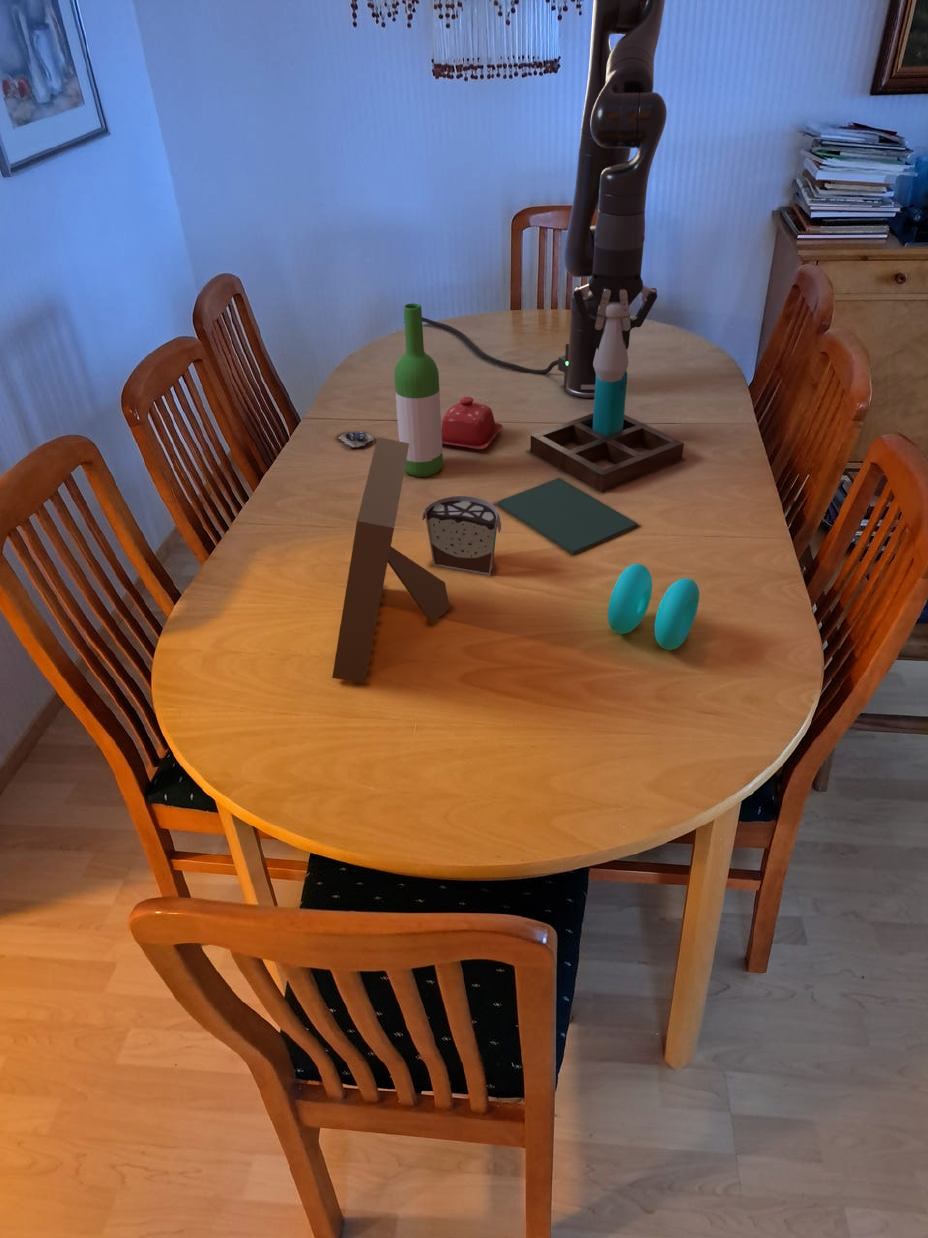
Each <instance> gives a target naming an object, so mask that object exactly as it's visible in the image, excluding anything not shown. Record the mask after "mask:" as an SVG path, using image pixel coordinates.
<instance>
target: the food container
mask: <svg viewBox="0 0 928 1238" xmlns="http://www.w3.org/2000/svg"><path fill="white" fill-rule="evenodd" d="M421 520H422V521H425V523H426V528H427V534H428V540H429V541H428V542H429V546H430V551H431V553H430V554H431V557H432V565H433V566H434V567H441V568H446V569H452V570H457V571H464V572H470V573H473V574H474V573H476V574H480V575H486V576H491V575H492V572H493V566H494V558H495V557H494V556H495V548H496V539H497V531H498V533H501V530H502V522H501V516H500V514H499V512H498V510H497V508H496V507H495V506H494V504H492V503H491V502H490V501H487V500H485V499H483V498H480V497H474V496H469V495H454V496H447V497H443V498H440V499H437V500H435V501H432V502H431V503H430V504H428V505H427V506H426V507H425V508H424V511H423V512H422V519H421Z"/></svg>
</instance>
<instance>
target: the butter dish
mask: <svg viewBox="0 0 928 1238" xmlns="http://www.w3.org/2000/svg"><path fill="white" fill-rule="evenodd" d="M495 421H496V420H495V417H494V413H493V410H492V408H491V407H490V406H488V405H487V404H483V403H479V402H474V398H473V397H471V396H462V397H461V398H460V399H459V402H457V403H454V404H453V405H452V406H451V407H449V408H448V409H447V410H446V412H445V413H444V415H443V417H442V419H441V432H442V445H448V446H454V447H455V446H456V447H463V448H469V449H473V450H474V449H475V450H484V449H486V448H487V447H488V446H489V445H490V444H491V442H492V441H494V439H495V437H496V436H497V435H498V434H499V433H500V432H501V430H502V428H503V424H502V423H498V422H495Z"/></svg>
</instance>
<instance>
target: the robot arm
mask: <svg viewBox="0 0 928 1238" xmlns="http://www.w3.org/2000/svg"><path fill="white" fill-rule="evenodd" d="M665 3H666V0H593V5H592V7H593V8H592V18H591V19H592V20H591V32H590V33H591V35H590V47H589V49H590V50H589V63H588V64H589V65H588V73H587V74H588V75H587V82H586V83H587V84H586V92H585V99H584V105H583V111H582V119H581V125H580V136H579V142H578V143H579V144H578V155H577V167H576V175H575V176H576V178H575V187H574V194H573V201H572V206H571V211H570V215H569V221H568V227H567V232H566V238H565V245H564V265H565V270H566V272H567V273H568V275H569V276H571V277H573V278H590V277H591V278H590V279H589V281H588V283H587V284H583V285H582V286H580V285H577V286H576V287H574V289H573V294H572V296H571V298H570V309H569V311H570V313H569V335H568V342H567V343H566V344H565V349H564V351H565V353H564V355H561V356H559V357H557V358H558V359H556V360H553V361H552V362H551V363H549V365H548V366H547V367H546V368H544V369H532V368H527V367H524V366H521V365H517V364H514V363H511V362H507V361H504V360H500V359H499V358H495V357H493V356H491V355H489V354H487V353H485V352H484V351H482V350H481V349H480V348H479V347H478V346H476V344H475V343H473V342H472V340H470V339H469V338H468V336H466V334H464V333H463V332H462V331H460V330H458V329H457V328H455V327H453V326H451V325H448V324H446V323H442V322H438V321H435V320H431V319H429V318H426V317H423V316H422V323H426V324H429V325H432V326H435V327H439V328H442V329H446V330H448V331H450V332H452V333H454V334H456V335H457V336H458V337H460V338H461V339H462V340H463V341H464V342H465V343H466V344H467V345H468V346H469V347H470V348H471V349H472V350H473V351H474V352H475V353H477V354H478V355H479V356H480V357H482V358H483V359H485V360H487V361H489V362H492V363H494V364H496V365H499V366H503V367H506V368H508V369H509V368H510V369H513V370H517V371H519V372H523V373H529V374H534V375H535V374H536V375H546V374H549V373H550V372H551V371H552V369H553V368H554V367H556V366H557V370H558V371H560V372H562V373H564V374H563V375H564V376H563V378H564V379H563V387H564V388H565V390H566V392H567V393H568V394H569V395H572V396H573V397H578V398H583V399H594V397H595V381H596V373H595V370H594V367H593V361H594V357H595V353H596V349H597V348H598V350H599V346H600V342H601V339H602V336H603V331H604V330H603V322H604V318H605V314H606V309H607V306H608V302H620V304H621V307H622V309H623V313H622V323H623V329H624V331H622V336H623V342H624V346H626V349H627V350H628V349H629V346H630V337H631V331H632V330H633V329H635V328H641V327H642V326H643V324H644V322H645V320H646V318H647V316H648V315H649V313H650V311H651V310H652V308H653V305H654V304H655V302H656V300H657V299H658V289H657V288H656V287H652V288H651V287H648V286H646V285H644V282H643V279H642V265H643V257H644V256H643V255H644V245H645V238H646V202H647V194H648V193H647V191H648V184H649V177H650V172H651V169H652V164H653V162H654V158H655V155H656V152H657V149H658V146H659V144H660V141H661V138H662V135H663V133H664V129H665V127H666V122H667V114H668V111H667V105H666V103H665V100H664V98H663V96H661V95H660V94H659V93H658V92H655V91H654V82H655V81H654V78H655V56H656V51H657V47H658V43H659V39H660V34H661V28H662V23H663V22H662V21H663V16H664V9H665ZM611 35H620V36H621V35H622V37H621V38H620V39H619V40H618V41H617V42H616V43H615V45H614V46H613V47H612V48H611V43H610V41H611V40H610V37H611ZM632 149H637V152H636V154H635V155H634V156H633V157H632V158H631V159H630V155H631V150H632ZM629 159H630V160H629ZM596 211H597V215H596ZM595 215H596V221H595V225H592V223H593V220H594V217H595ZM640 294H642V295H641V301H642V304H641V305H640V307H639V309H638V311H637V313H636V315H635V316H634V317H631V309H630V308H631V307H630V306H631V304H632V303H633V302H634V300H635V299H636V298H637V297H638V296H639V295H640ZM624 309H626V310H624ZM403 324H405V321H403Z"/></svg>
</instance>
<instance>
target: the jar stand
mask: <svg viewBox="0 0 928 1238" xmlns="http://www.w3.org/2000/svg"><path fill="white" fill-rule="evenodd" d="M593 413H594V412H593ZM593 413H592V412H591V413H589V414H587V415H583V416H581V417H578V418H576V419H573V420H569V421H567V422H564V423H561V424H558V425H556V426H552V427H550V428H547V429H543V430H541V431H539V432H536V433H533V434H531V435H530V453H531V454H533V455H535V456H537V457H539V458H540V459H541V460H544V461H545V462H547V463H549V464H551V465H553V466H554V467H556V468H558V469H559V470H561V471H563V472H564V473H567V474H568V475H570V476H572V477H574V478H575V479H577V480H579V481H581V482H582V483H584V484H585V485H587V486H589V487H591V488H593V489H594V490H596V491H598V492H600V493H604V492H607V491H609V490H613V489H614V488H617V487H619V486H621V485H624V484H626V483H629V482H631V481H634V480H636V479H639V478H642V477H644V476H646V475H648V474H651V473H653V472H656V471H658V470H660V469H661V470H662V469H664V468H666V467H668V466H671V465H673V464H676V463H678V462H681V461H682V460H683V455H684V450H685V449H684V447H685V442H684V441H681V440H679V439H677V438H675V437H673V436H671V435H669V434H667V433H664V432H663V431H660V430H659V429H656V428H654V427H652V426H650V425H648V424H645V423H644V422H642V421H639V420H637V419H635V418H633V417H631V416H628V415H626V414H625V413H624V420H623V431H620V432H617V433H614V434H612V435H609V436H605V435H603V434H601V433H599V432H597V431H595V430H593V429H592V428H593ZM572 442H573V443H575V444H577V445H579V446H577V447H574V448H571V449H569V448H566V447H564V446H563V445H567V444H570V443H572ZM638 446H643V448H647V449H648V450H649V451H646V452H644V453H641V452H639V451H636V450H634V449H633V448H636V447H638ZM602 460H607V461H609V462H611V463H613V464H612V465H610V466H608V467H606V468H603V467H601V466H599V465H597V464H595V463H598V462H600V461H602Z"/></svg>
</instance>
